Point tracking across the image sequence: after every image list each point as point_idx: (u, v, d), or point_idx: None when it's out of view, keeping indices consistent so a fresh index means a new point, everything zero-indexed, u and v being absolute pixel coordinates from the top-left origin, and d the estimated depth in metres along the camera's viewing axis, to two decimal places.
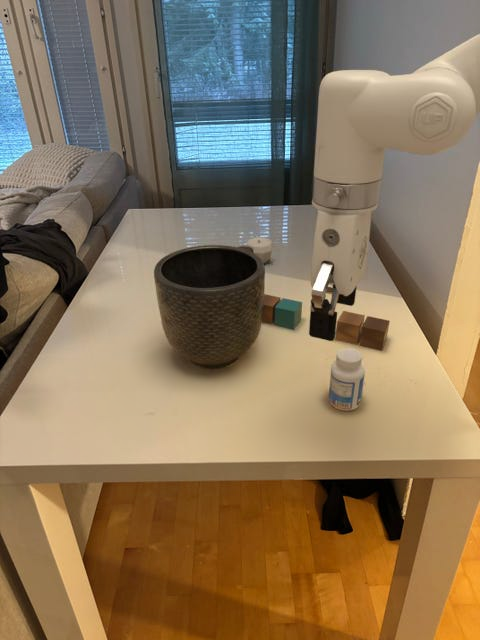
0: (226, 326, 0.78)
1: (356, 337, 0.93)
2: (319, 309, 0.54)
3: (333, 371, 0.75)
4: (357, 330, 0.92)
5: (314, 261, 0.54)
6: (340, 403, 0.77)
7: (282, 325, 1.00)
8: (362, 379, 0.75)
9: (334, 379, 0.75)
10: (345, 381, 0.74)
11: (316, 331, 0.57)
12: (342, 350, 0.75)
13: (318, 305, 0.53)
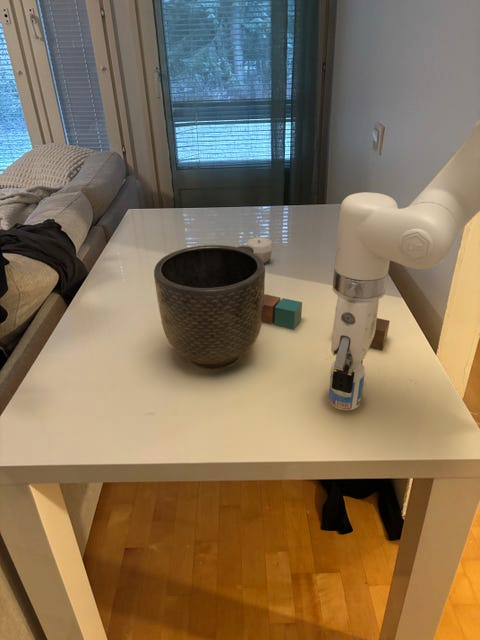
0: (226, 326, 0.78)
1: None
2: (341, 371, 0.70)
3: None
4: None
5: (334, 335, 0.68)
6: (340, 403, 0.77)
7: (282, 325, 1.00)
8: (362, 379, 0.75)
9: None
10: None
11: (337, 386, 0.73)
12: None
13: (340, 370, 0.69)
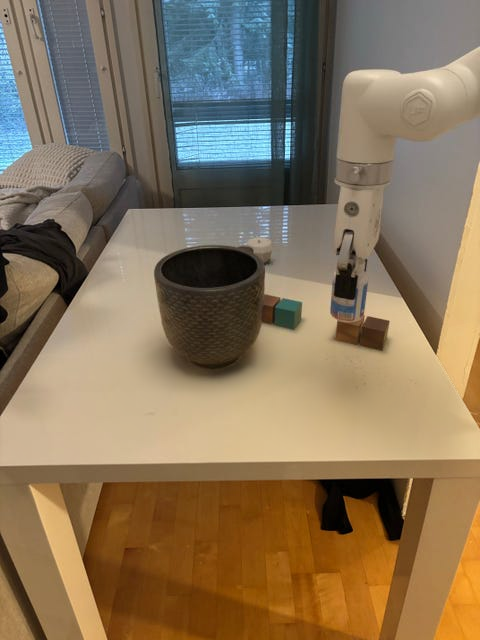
0: (226, 326, 0.78)
1: (356, 337, 0.93)
2: (344, 272, 0.67)
3: None
4: (357, 330, 0.92)
5: (337, 230, 0.64)
6: (342, 314, 0.73)
7: (282, 325, 1.00)
8: (365, 286, 0.71)
9: None
10: None
11: (340, 291, 0.70)
12: None
13: (343, 269, 0.66)
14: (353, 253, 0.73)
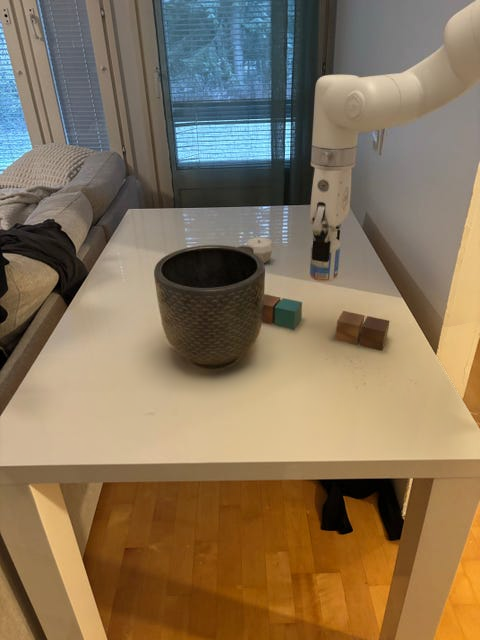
0: (226, 326, 0.78)
1: (356, 337, 0.93)
2: (318, 237, 0.82)
3: None
4: (357, 330, 0.92)
5: (312, 203, 0.80)
6: (319, 274, 0.89)
7: (282, 325, 1.00)
8: (337, 251, 0.87)
9: None
10: None
11: (316, 255, 0.85)
12: None
13: (318, 235, 0.81)
14: None
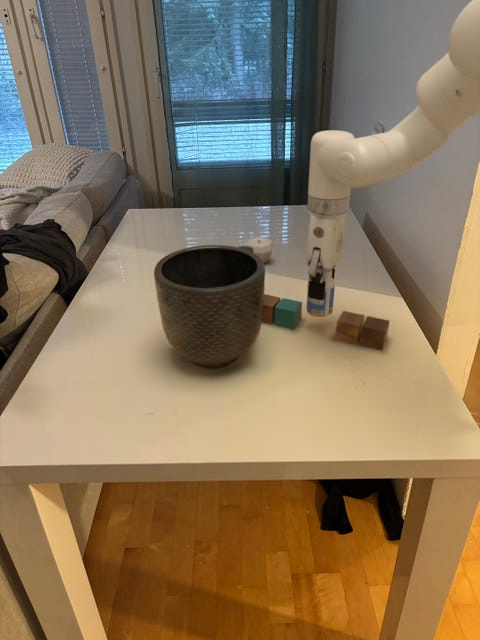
0: (226, 326, 0.78)
1: (356, 337, 0.93)
2: (314, 279, 0.88)
3: None
4: (357, 330, 0.92)
5: (308, 247, 0.86)
6: (315, 311, 0.94)
7: (282, 325, 1.00)
8: (332, 289, 0.92)
9: None
10: None
11: (312, 294, 0.91)
12: None
13: (313, 277, 0.87)
14: None
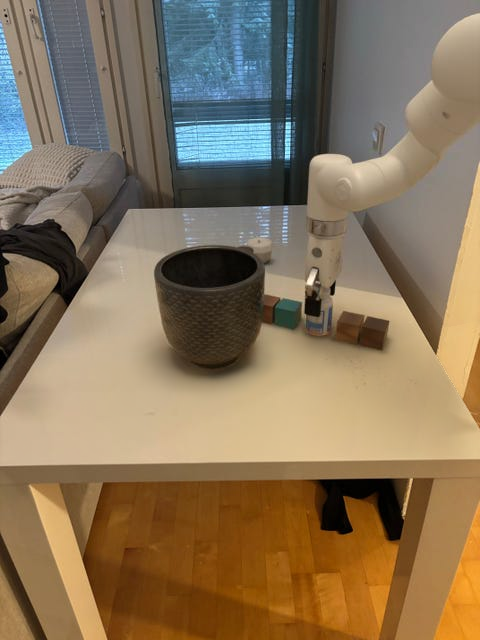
0: (226, 326, 0.78)
1: (356, 337, 0.93)
2: (310, 296, 0.88)
3: None
4: (357, 330, 0.92)
5: (307, 267, 0.88)
6: (314, 329, 0.96)
7: (282, 325, 1.00)
8: (331, 308, 0.94)
9: None
10: None
11: (308, 311, 0.91)
12: None
13: (309, 294, 0.87)
14: None
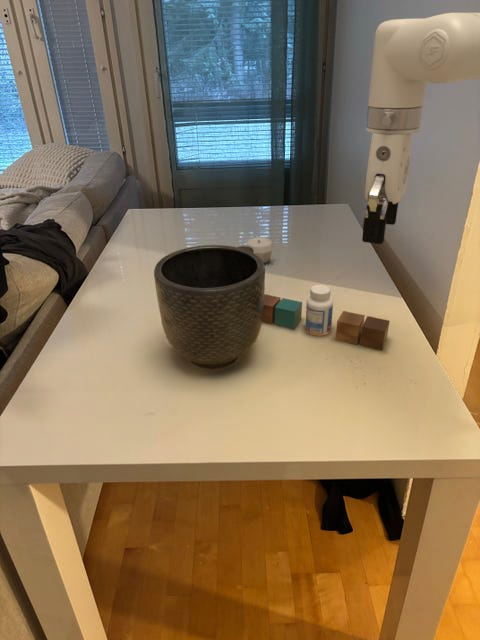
0: (226, 326, 0.78)
1: (356, 337, 0.93)
2: (373, 213, 0.68)
3: (308, 302, 0.95)
4: (357, 330, 0.92)
5: (369, 175, 0.68)
6: (314, 329, 0.96)
7: (282, 325, 1.00)
8: (331, 308, 0.94)
9: (309, 309, 0.95)
10: (316, 310, 0.94)
11: (369, 235, 0.71)
12: (315, 286, 0.95)
13: (373, 208, 0.67)
14: (385, 197, 0.78)
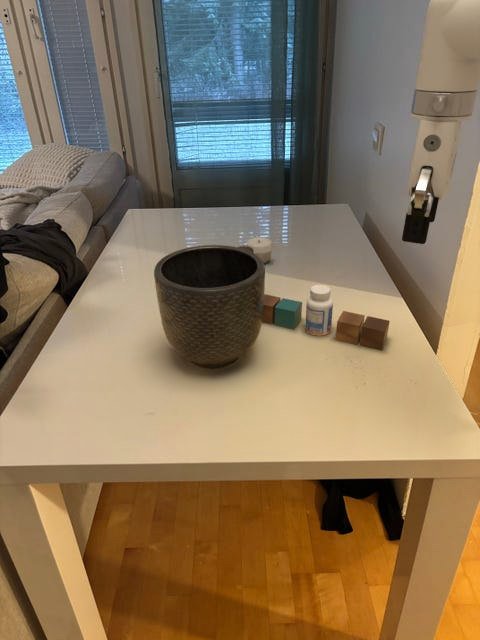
0: (226, 326, 0.78)
1: (356, 337, 0.93)
2: (418, 210, 0.61)
3: (308, 302, 0.95)
4: (357, 330, 0.92)
5: (414, 167, 0.61)
6: (314, 329, 0.96)
7: (282, 325, 1.00)
8: (330, 308, 0.94)
9: (309, 309, 0.95)
10: (316, 310, 0.94)
11: (410, 234, 0.64)
12: (315, 286, 0.95)
13: (418, 205, 0.60)
14: None
